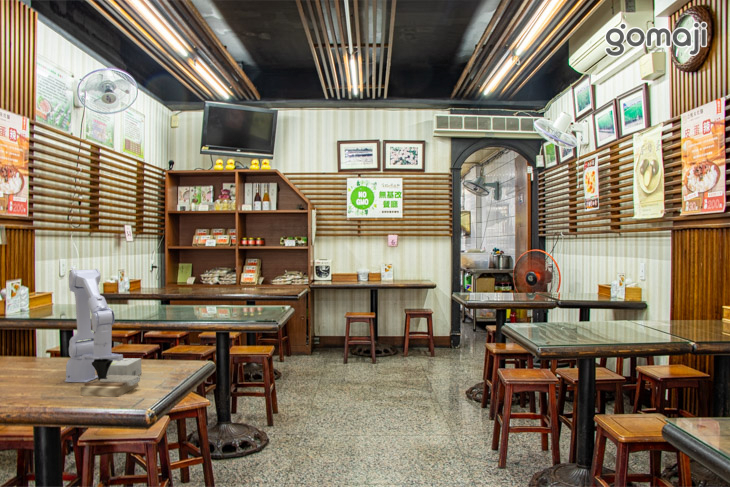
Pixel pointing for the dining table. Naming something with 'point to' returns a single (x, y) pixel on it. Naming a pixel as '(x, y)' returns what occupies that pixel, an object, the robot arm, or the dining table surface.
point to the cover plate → (120, 379)
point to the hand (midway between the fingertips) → (102, 379)
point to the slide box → (105, 389)
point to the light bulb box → (125, 367)
